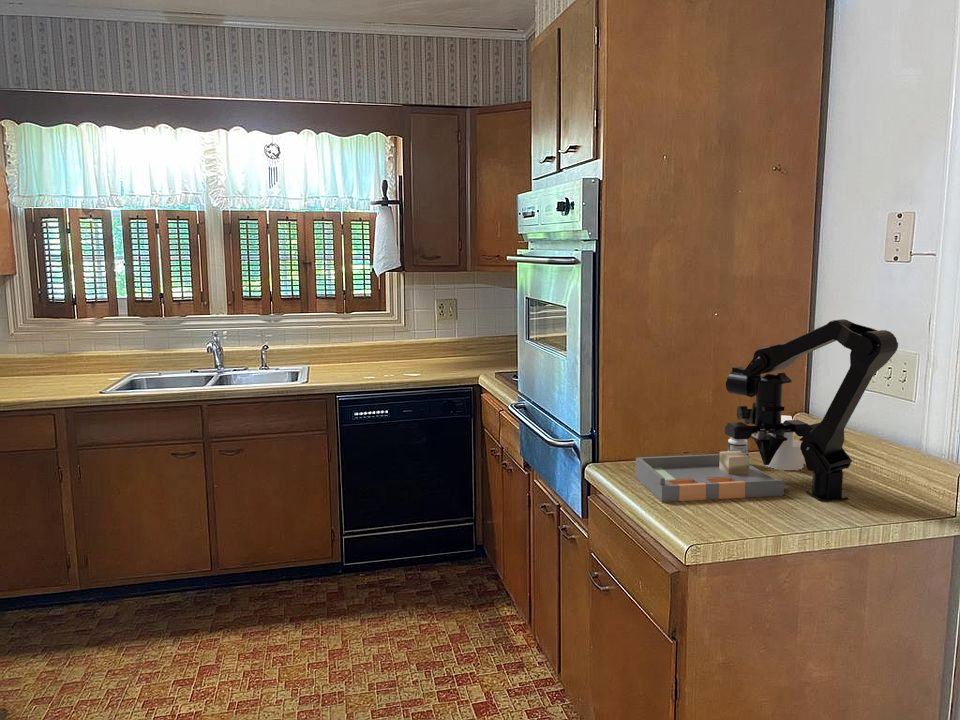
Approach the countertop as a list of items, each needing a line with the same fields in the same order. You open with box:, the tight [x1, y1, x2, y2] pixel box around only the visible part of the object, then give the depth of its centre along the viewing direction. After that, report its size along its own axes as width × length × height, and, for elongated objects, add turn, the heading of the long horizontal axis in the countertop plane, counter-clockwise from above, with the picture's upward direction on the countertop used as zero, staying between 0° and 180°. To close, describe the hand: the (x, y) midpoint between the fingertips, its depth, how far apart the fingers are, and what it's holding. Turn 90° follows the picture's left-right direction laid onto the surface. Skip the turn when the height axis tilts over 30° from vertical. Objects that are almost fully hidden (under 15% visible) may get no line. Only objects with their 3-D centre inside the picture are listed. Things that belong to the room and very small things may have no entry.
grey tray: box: [635, 452, 785, 503], centre depth 174 cm, size 18×28×5 cm, turn 97°
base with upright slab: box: [765, 414, 805, 471], centre depth 189 cm, size 9×9×12 cm
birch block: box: [719, 450, 750, 474], centre depth 178 cm, size 5×5×4 cm
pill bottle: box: [727, 436, 749, 453], centre depth 191 cm, size 5×5×8 cm
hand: (766, 464), depth 179 cm, fingers closed
